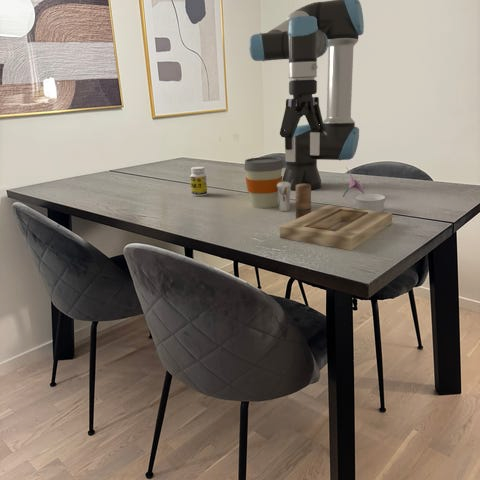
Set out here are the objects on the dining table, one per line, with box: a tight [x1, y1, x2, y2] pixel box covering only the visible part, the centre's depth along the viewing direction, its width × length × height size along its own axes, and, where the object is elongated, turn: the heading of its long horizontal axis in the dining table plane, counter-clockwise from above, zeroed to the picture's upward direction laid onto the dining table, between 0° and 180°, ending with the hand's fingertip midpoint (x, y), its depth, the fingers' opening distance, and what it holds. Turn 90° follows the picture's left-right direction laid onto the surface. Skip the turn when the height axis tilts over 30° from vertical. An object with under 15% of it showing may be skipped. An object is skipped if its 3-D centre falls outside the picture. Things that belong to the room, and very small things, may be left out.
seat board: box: [279, 204, 393, 251], centre depth 128 cm, size 20×26×3 cm
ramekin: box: [355, 193, 386, 212], centre depth 146 cm, size 9×9×4 cm
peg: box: [295, 184, 312, 219], centre depth 140 cm, size 4×4×10 cm
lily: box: [342, 166, 365, 198], centre depth 165 cm, size 12×12×10 cm
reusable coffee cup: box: [244, 156, 284, 209], centre depth 157 cm, size 13×13×15 cm
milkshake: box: [277, 180, 293, 212], centre depth 150 cm, size 4×5×10 cm
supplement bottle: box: [190, 166, 208, 197], centre depth 178 cm, size 6×6×10 cm
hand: (303, 158), depth 136 cm, fingers open, 13 cm apart
